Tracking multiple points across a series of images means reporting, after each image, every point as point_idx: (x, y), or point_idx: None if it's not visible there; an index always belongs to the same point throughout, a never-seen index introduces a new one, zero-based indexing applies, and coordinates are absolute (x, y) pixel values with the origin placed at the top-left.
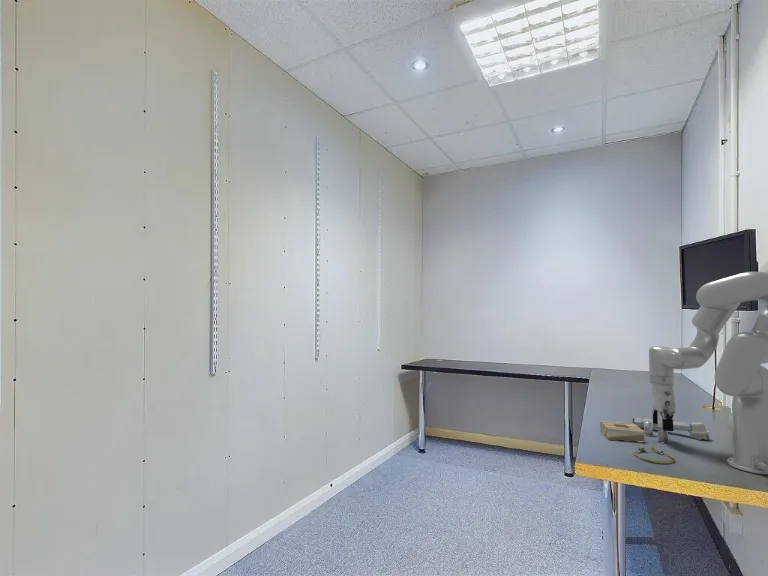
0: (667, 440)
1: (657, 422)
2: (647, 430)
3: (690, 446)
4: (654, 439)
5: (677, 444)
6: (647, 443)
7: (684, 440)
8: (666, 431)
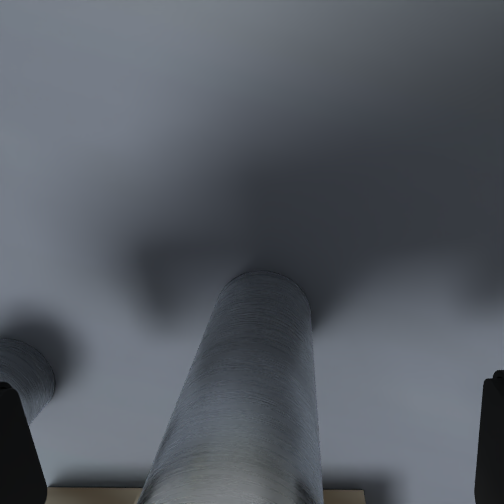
0: (293, 296)
1: (21, 473)
2: None
3: (350, 40)
4: (181, 369)
5: (306, 184)
6: (378, 471)
7: (52, 30)
8: (307, 373)
